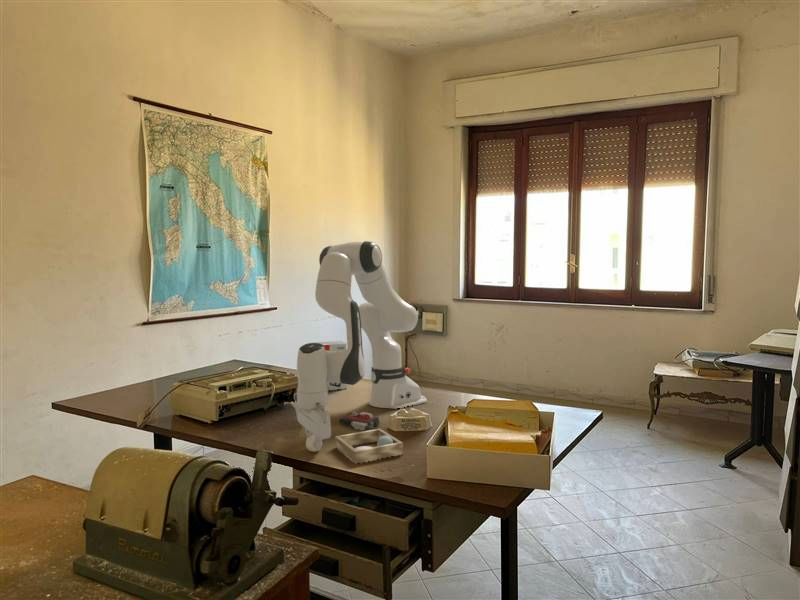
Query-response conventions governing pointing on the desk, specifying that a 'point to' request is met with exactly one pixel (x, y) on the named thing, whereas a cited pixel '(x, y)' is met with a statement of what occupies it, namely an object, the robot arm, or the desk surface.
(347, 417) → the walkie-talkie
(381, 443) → the blue ball
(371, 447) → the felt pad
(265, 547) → the desk surface
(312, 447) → the cream ball
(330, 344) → the hard drive box
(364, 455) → the shallow open tray
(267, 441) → the desk surface
